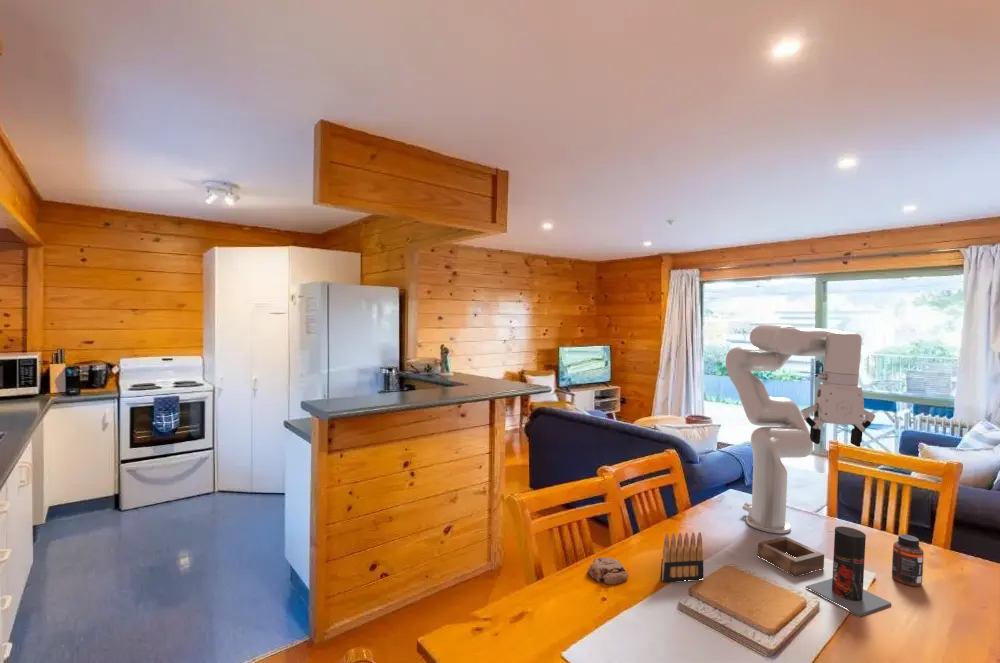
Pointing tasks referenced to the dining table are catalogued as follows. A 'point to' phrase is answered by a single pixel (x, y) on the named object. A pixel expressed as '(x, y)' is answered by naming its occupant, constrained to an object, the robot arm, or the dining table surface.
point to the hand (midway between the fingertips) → (835, 443)
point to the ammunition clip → (682, 559)
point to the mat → (855, 607)
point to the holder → (797, 566)
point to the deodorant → (848, 563)
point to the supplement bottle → (907, 561)
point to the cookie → (608, 571)
